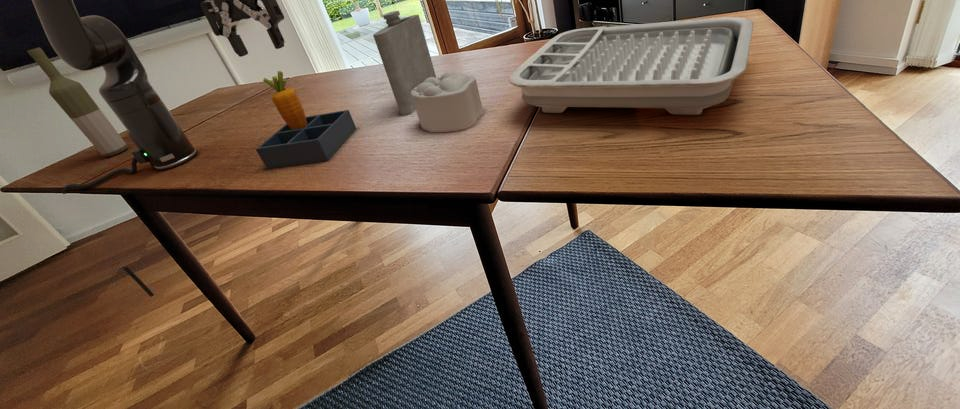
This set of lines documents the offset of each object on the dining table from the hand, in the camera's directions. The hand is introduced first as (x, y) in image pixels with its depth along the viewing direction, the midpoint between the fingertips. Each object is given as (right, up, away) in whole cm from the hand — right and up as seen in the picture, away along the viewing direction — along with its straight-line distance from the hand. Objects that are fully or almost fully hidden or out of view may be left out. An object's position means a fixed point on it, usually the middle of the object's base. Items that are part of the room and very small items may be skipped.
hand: (261, 51), depth 80 cm
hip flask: (+28, -5, +18) cm, 34 cm away
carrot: (+4, -16, +11) cm, 20 cm away
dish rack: (+71, -9, -3) cm, 71 cm away
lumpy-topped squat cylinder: (+37, -13, +3) cm, 39 cm away
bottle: (-64, -15, +40) cm, 77 cm away
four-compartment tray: (+7, -18, +8) cm, 21 cm away
